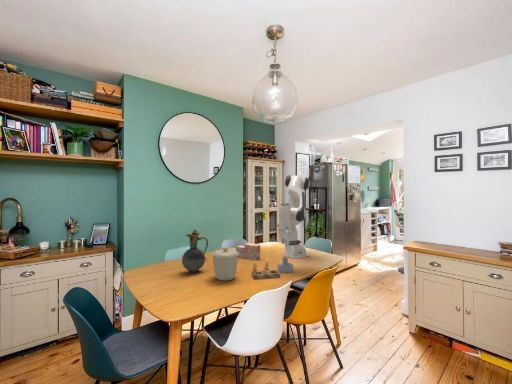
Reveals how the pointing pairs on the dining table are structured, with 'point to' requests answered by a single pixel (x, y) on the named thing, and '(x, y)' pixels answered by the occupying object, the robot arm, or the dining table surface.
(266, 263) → the pin
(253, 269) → the pin
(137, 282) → the dining table surface
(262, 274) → the socket board
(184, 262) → the pitcher
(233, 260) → the canister
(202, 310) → the dining table surface
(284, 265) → the housing
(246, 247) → the floral patterned box
